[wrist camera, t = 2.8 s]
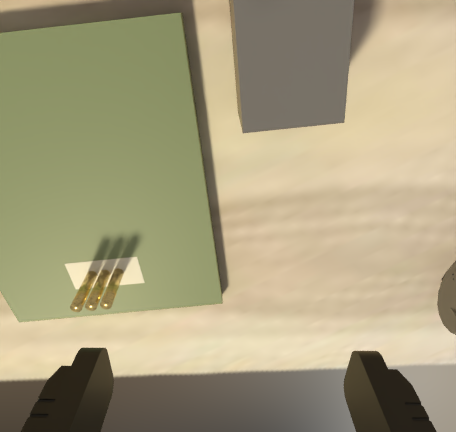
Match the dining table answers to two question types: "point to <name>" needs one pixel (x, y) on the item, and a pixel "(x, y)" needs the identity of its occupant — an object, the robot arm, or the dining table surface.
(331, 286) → the dining table surface
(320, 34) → the block
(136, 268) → the board
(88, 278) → the header pins
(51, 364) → the dining table surface
